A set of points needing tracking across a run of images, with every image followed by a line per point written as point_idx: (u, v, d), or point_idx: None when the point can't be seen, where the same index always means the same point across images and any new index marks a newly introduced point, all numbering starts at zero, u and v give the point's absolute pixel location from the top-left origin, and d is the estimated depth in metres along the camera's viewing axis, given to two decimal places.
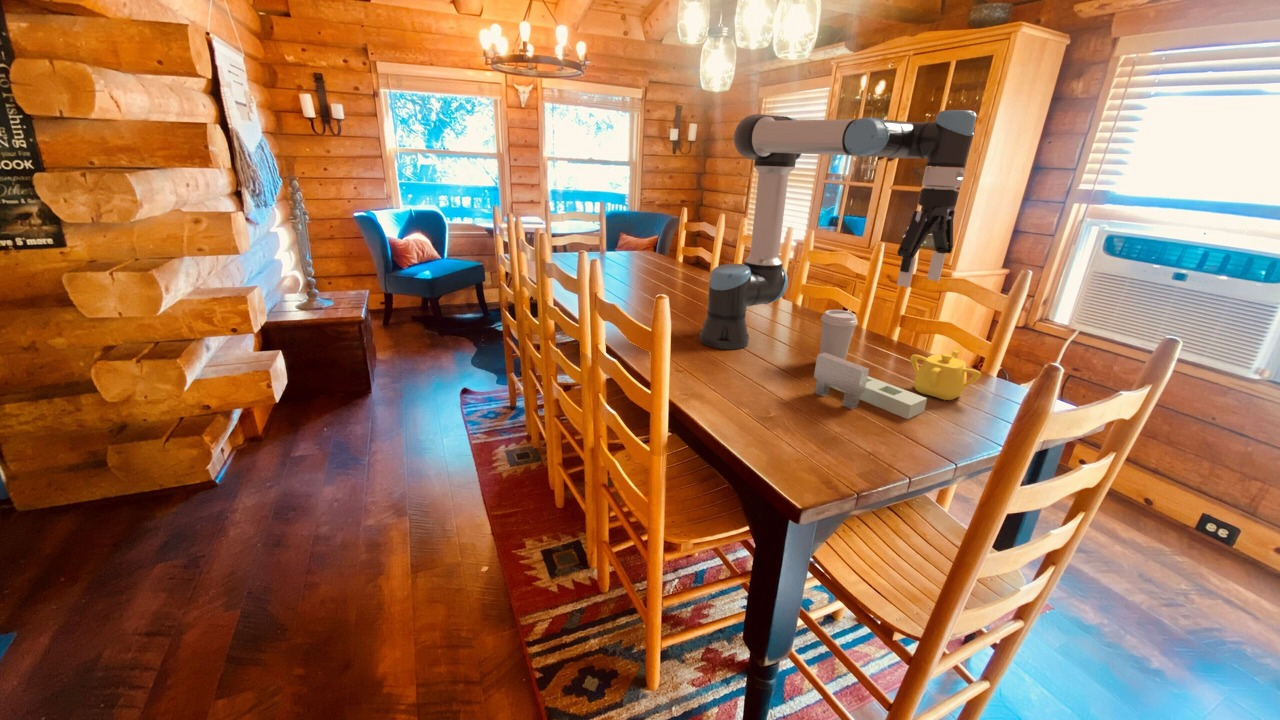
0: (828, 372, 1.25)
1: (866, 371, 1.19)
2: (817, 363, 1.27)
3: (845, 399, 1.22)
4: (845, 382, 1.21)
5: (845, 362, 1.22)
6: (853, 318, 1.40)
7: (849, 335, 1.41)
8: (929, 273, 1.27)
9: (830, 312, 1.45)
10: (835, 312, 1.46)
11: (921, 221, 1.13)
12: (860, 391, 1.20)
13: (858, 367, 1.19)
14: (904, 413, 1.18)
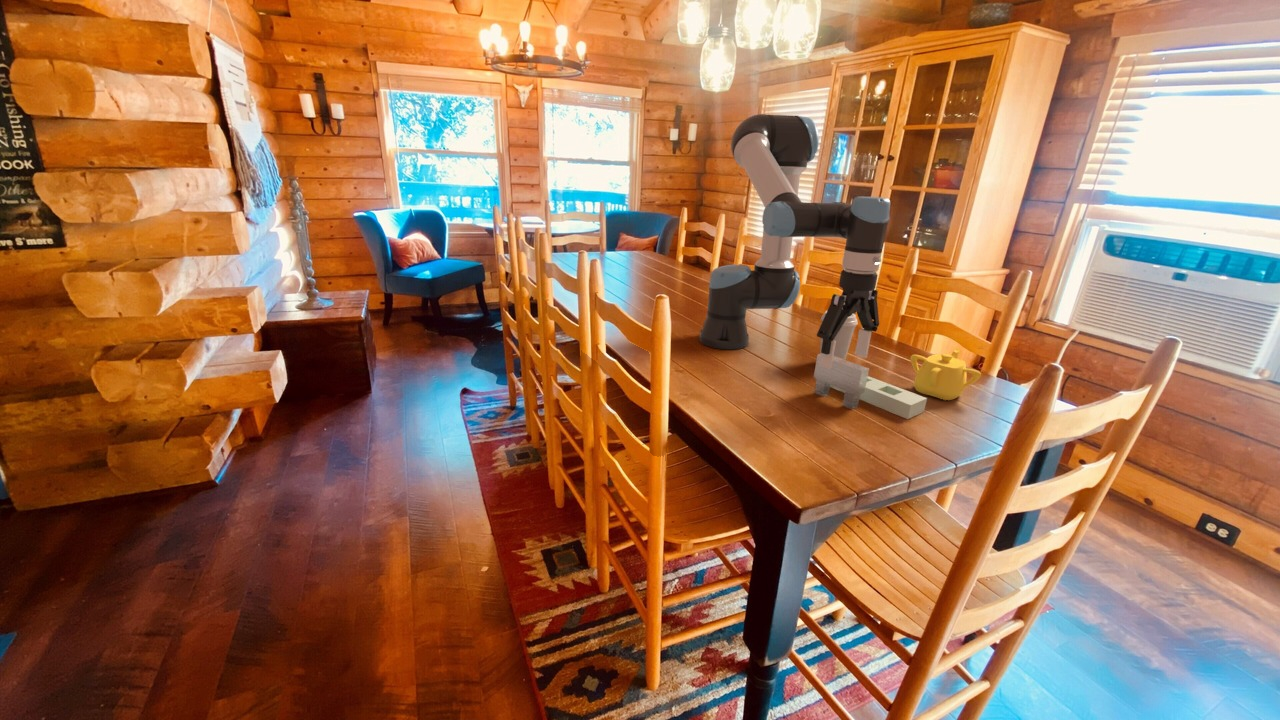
0: (828, 372, 1.25)
1: (866, 371, 1.19)
2: (817, 363, 1.27)
3: (845, 399, 1.22)
4: (845, 382, 1.21)
5: (845, 362, 1.22)
6: (853, 318, 1.40)
7: (849, 335, 1.41)
8: (857, 349, 1.26)
9: None
10: None
11: (839, 305, 1.13)
12: (860, 391, 1.20)
13: (858, 367, 1.19)
14: (904, 413, 1.18)
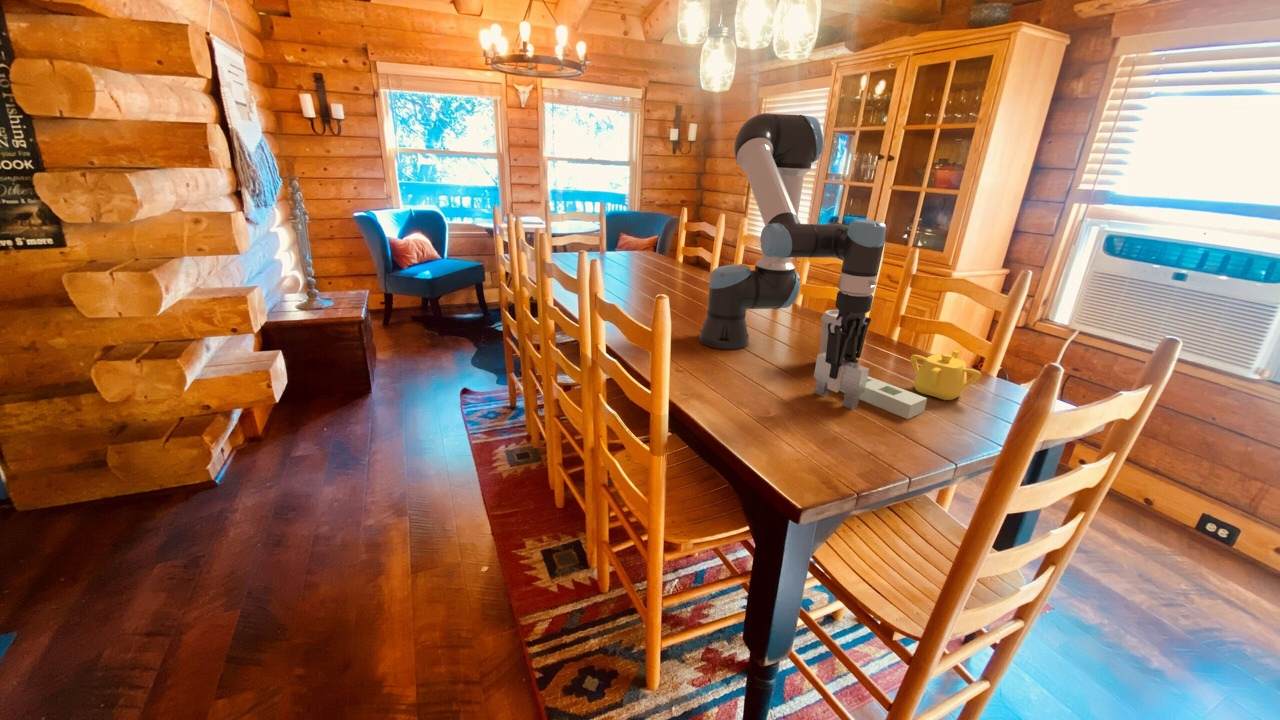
0: (828, 372, 1.25)
1: (866, 371, 1.19)
2: (817, 363, 1.27)
3: (845, 399, 1.22)
4: (845, 382, 1.21)
5: (845, 362, 1.22)
6: None
7: None
8: None
9: (830, 312, 1.45)
10: (835, 312, 1.46)
11: (836, 334, 1.16)
12: (860, 391, 1.20)
13: (858, 367, 1.19)
14: (904, 413, 1.18)
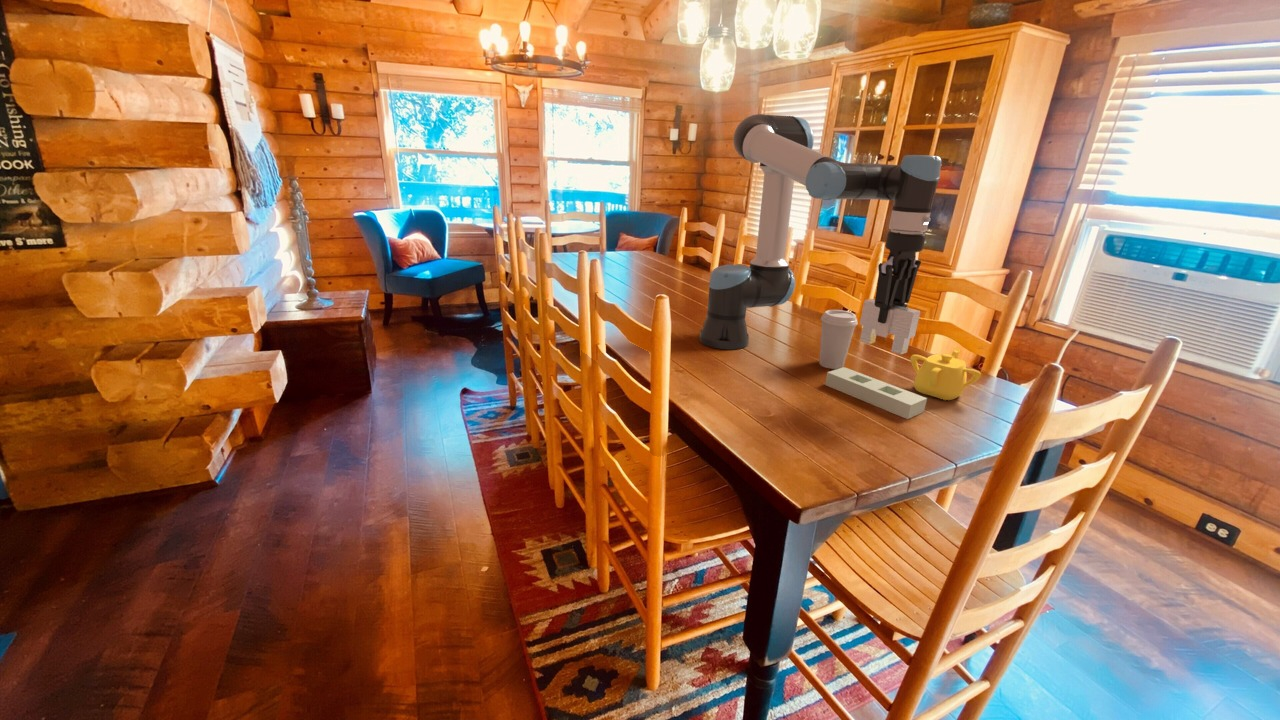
0: (876, 317, 1.22)
1: (918, 314, 1.15)
2: (864, 310, 1.24)
3: (894, 344, 1.19)
4: (894, 326, 1.18)
5: (895, 306, 1.18)
6: (853, 318, 1.40)
7: (849, 335, 1.41)
8: None
9: (830, 312, 1.45)
10: (835, 312, 1.46)
11: (888, 274, 1.13)
12: (911, 335, 1.17)
13: (909, 309, 1.16)
14: (904, 413, 1.18)
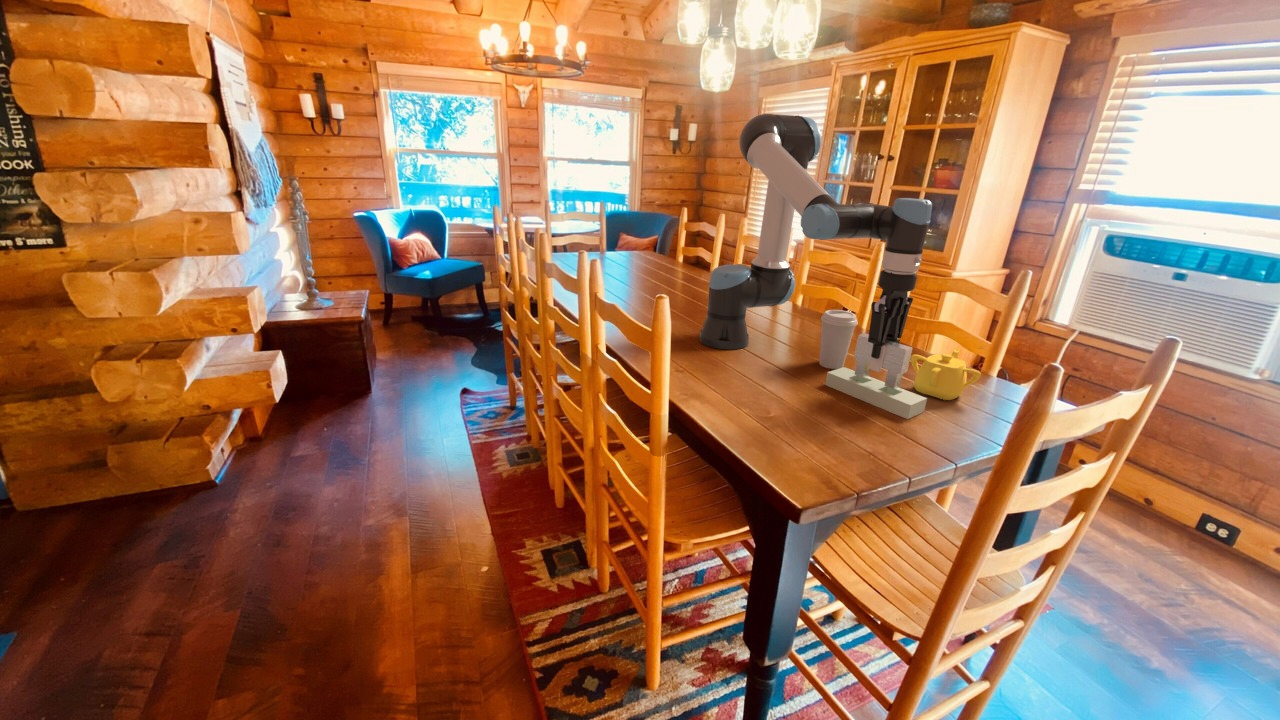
0: (869, 352, 1.25)
1: (910, 350, 1.19)
2: (858, 344, 1.27)
3: (888, 379, 1.22)
4: (887, 362, 1.21)
5: (888, 342, 1.22)
6: (853, 318, 1.40)
7: (849, 335, 1.41)
8: None
9: (830, 312, 1.45)
10: (835, 312, 1.46)
11: (880, 313, 1.16)
12: (903, 370, 1.20)
13: (902, 346, 1.20)
14: (904, 413, 1.18)
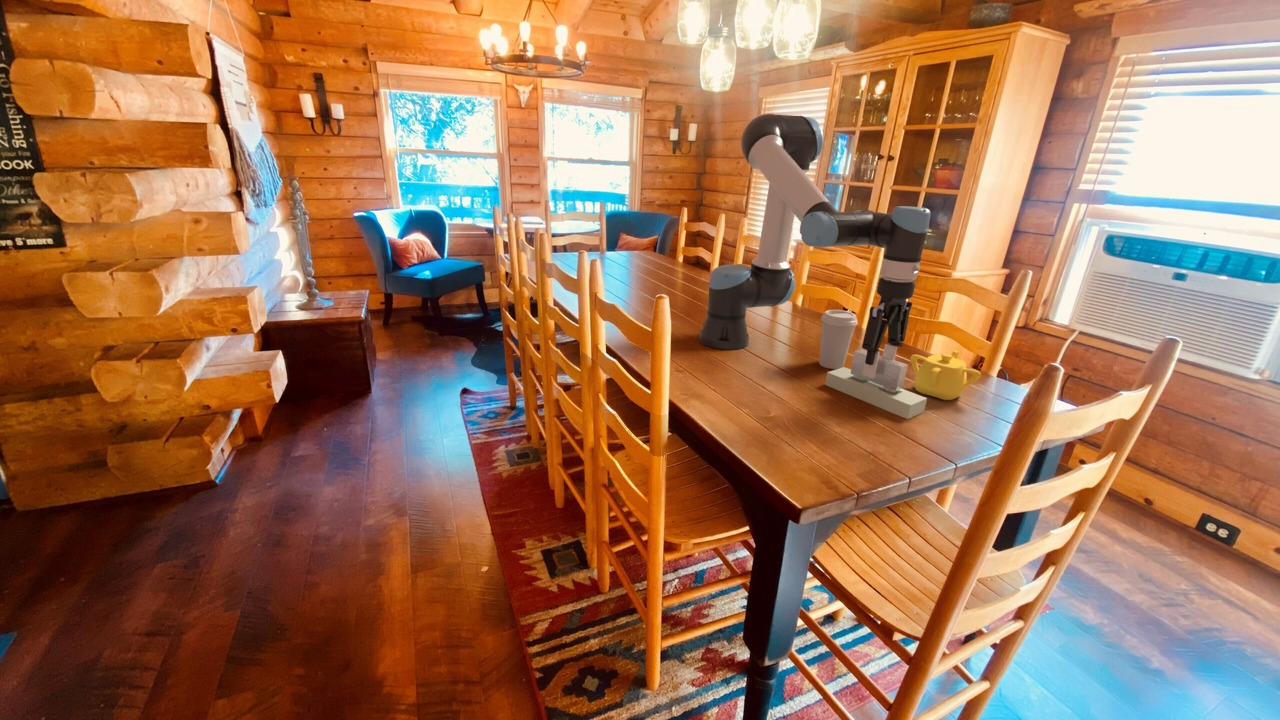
0: None
1: (905, 367, 1.20)
2: (854, 360, 1.28)
3: None
4: (883, 378, 1.23)
5: (884, 359, 1.23)
6: (853, 318, 1.40)
7: (849, 335, 1.41)
8: None
9: (830, 312, 1.45)
10: (835, 312, 1.46)
11: (878, 318, 1.16)
12: (899, 387, 1.21)
13: (897, 363, 1.21)
14: (904, 413, 1.18)
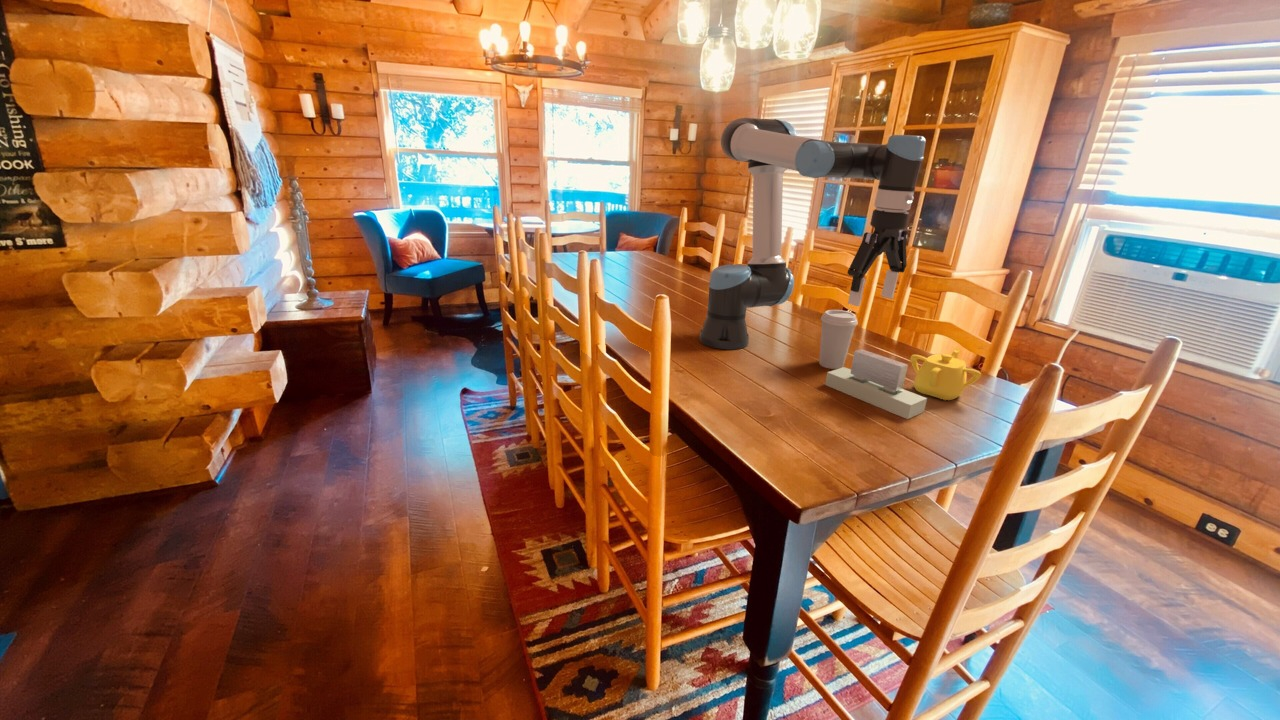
0: (866, 368, 1.26)
1: (905, 367, 1.20)
2: (854, 360, 1.28)
3: None
4: (883, 378, 1.23)
5: (884, 359, 1.23)
6: (853, 318, 1.40)
7: (849, 335, 1.41)
8: (883, 291, 1.30)
9: (830, 312, 1.45)
10: (835, 312, 1.46)
11: (870, 243, 1.16)
12: (899, 387, 1.21)
13: (897, 363, 1.21)
14: (904, 413, 1.18)
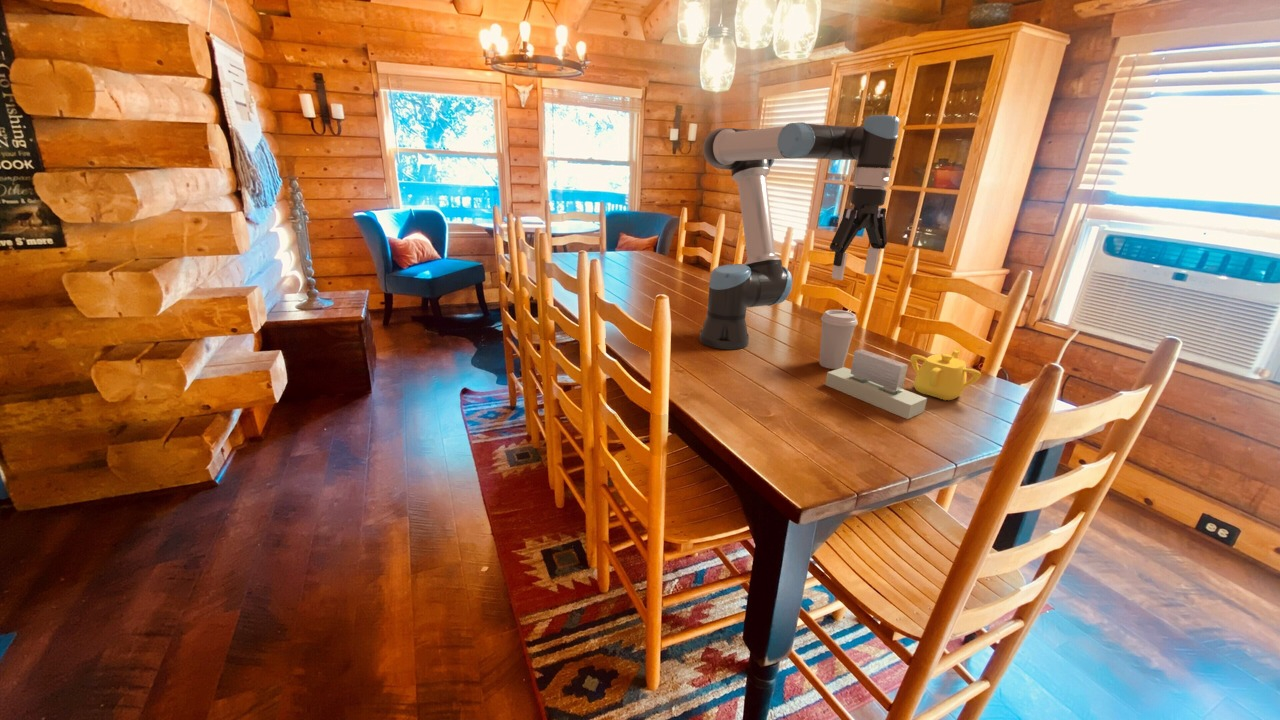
0: (866, 368, 1.26)
1: (905, 367, 1.20)
2: (854, 360, 1.28)
3: None
4: (883, 378, 1.23)
5: (884, 359, 1.23)
6: (853, 318, 1.40)
7: (849, 335, 1.41)
8: (865, 267, 1.35)
9: (830, 312, 1.45)
10: (835, 312, 1.46)
11: (850, 218, 1.22)
12: (899, 387, 1.21)
13: (897, 363, 1.21)
14: (904, 413, 1.18)
